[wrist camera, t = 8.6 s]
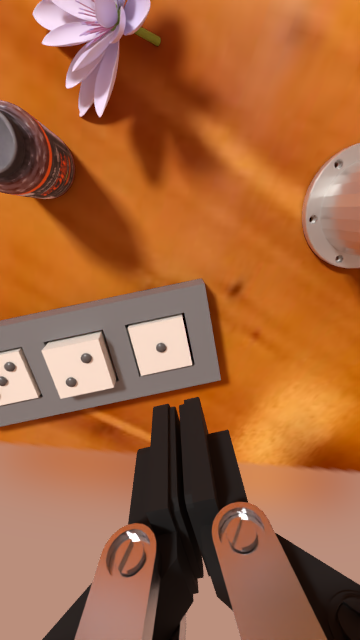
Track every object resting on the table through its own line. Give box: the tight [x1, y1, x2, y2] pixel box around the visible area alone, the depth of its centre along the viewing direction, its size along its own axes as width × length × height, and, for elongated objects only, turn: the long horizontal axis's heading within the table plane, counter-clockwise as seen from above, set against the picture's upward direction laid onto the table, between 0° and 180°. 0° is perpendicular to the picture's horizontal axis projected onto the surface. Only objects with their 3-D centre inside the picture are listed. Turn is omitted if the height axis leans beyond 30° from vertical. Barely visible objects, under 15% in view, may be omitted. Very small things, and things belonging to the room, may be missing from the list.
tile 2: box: [42, 330, 117, 399], centre depth 33 cm, size 6×6×3 cm
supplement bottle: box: [0, 100, 75, 199], centre depth 24 cm, size 6×6×11 cm
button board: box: [0, 279, 221, 427], centre depth 35 cm, size 30×12×2 cm, turn 101°
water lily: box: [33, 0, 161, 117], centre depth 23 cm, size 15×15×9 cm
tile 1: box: [128, 313, 192, 376], centre depth 34 cm, size 6×6×3 cm
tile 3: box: [0, 347, 41, 406], centre depth 34 cm, size 6×6×3 cm
